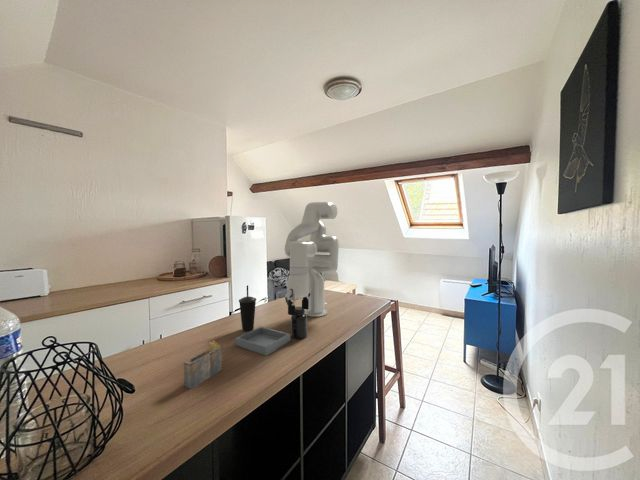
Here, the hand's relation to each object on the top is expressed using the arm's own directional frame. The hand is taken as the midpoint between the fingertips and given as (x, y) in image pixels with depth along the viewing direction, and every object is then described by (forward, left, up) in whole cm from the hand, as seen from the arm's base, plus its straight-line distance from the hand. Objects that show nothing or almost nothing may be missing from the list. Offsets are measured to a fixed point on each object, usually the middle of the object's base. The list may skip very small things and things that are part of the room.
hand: (298, 311), depth 109 cm
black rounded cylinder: (+5, -24, -11) cm, 27 cm away
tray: (+12, -8, -11) cm, 18 cm away
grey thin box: (+39, -7, -11) cm, 41 cm away
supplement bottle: (-1, 0, -11) cm, 11 cm away
